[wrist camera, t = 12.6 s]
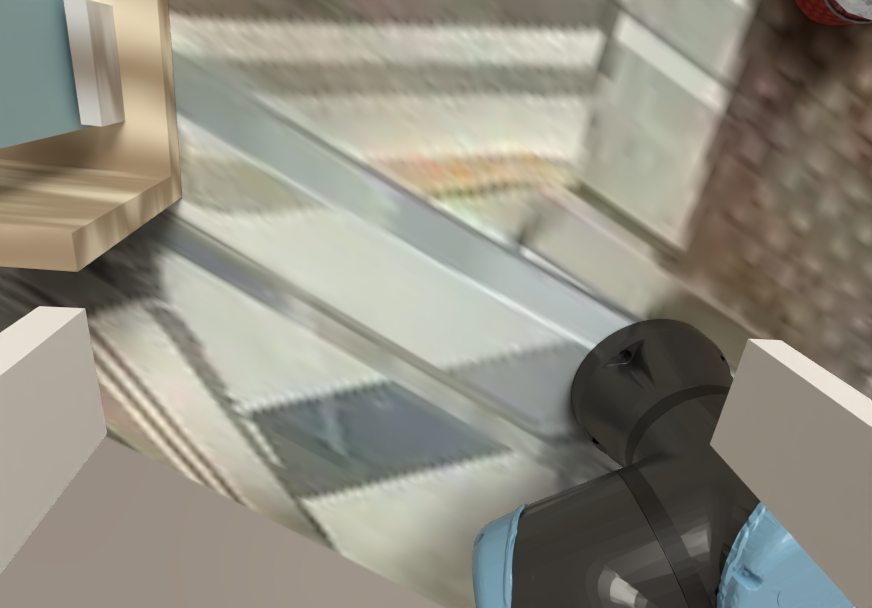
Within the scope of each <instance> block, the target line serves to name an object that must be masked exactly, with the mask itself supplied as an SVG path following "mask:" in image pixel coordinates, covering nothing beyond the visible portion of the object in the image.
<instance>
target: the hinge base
mask: <svg viewBox="0 0 872 608" xmlns="http://www.w3.org/2000/svg"><path fill="white" fill-rule="evenodd" d="M64 7H65V14H66V21H67V28H68V35H69V42H70V49H71V56H72V63H73V70H74V77H75V84H76V91H77V98H78V105H79V112H80V120H81V124H83V125H92V126H93V127H89V128H85V129H81V130H77V131H72V132H68V133H64V134H60V135H56V136H52V137H47V138H43V139H39V140H35V141H31V142H26V143H22V144H18V145H14V146H10V147H6V148H1V149H0V266H3V267H17V268H31V269H46V270H60V271H74V272H78V271H79V270H81V269H82V268H84V267H85V266H86V265H88V264H89V263H91V262H92V261H93V260H95V259H96V258H98V257H99V256H100V255H102V254H103V253H105V252H106V251H107V250H109V249H110V248H111V247H113V246H114V245H116V244H117V243H118V242H120V241H121V240H123V239H124V238H125V237H127V236H128V235H130V234H131V233H132V232H134V231H135V230H137V229H138V228H139V227H141V226H142V225H143V224H145V223H146V222H148V221H149V220H150V219H152V218H153V217H155V216H156V215H157V214H159V213H160V212H162V211H163V210H164V209H166V208H167V207H169V206H170V205H171V204H173V203H174V202H175V201H177V200H178V199H180V198H181V197H182V189H181V175H180V161H179V147H178V133H177V119H176V105H175V91H174V78H173V64H172V50H171V36H170V22H169V8H168V0H64Z"/></svg>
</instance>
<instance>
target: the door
mask: <svg viewBox="0 0 872 608" xmlns="http://www.w3.org/2000/svg"><path fill="white" fill-rule="evenodd" d="M89 127H93V126H92V125H83V124H81V120H80V112H79V105H78V98H77V91H76V84H75V77H74V70H73V63H72V56H71V49H70V42H69V35H68V28H67V21H66V14H65V7H64V0H0V149H1V148H6V147H10V146H14V145H18V144H22V143H26V142H31V141H35V140H39V139H43V138H47V137H52V136H56V135H60V134H64V133H68V132H72V131H77V130H81V129H85V128H89Z"/></svg>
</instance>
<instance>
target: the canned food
mask: <svg viewBox="0 0 872 608" xmlns="http://www.w3.org/2000/svg"><path fill="white" fill-rule="evenodd" d="M795 1H796V3H797V5H798V7H799V9H800V10H801V11H802V12H803V13H804V14H805V15H806V16H807V17H808V18H810V19H812V20H813V21H815V22H817V23H821V24H824V25H849V24H868V23H872V0H795Z"/></svg>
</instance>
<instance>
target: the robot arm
mask: <svg viewBox="0 0 872 608" xmlns="http://www.w3.org/2000/svg"><path fill="white" fill-rule="evenodd" d="M571 399H572V408H573V412H574V415H575V417H576V420H577V421H578V423H579V425H580V427H581V428H582V430H583V432H584V434H585V435H586V437H587V438H588V439H589V440H590V441H591V443H592V444H593V445H595V446H596V447H597V448H598V449H600V450H601V451H602V452H604V453H606V454H607V455H608V456H609V457H610V458H612V459H613V460H614V461H616V462H617V463H618V464H620V465H621V466H622V467H624V468H621V469H619V470H616V471H613V472H610V473H608V474H605V475H603V476H600V477H598V478H595V479H593V480H590V481H588V482H585V483H583V484H581V485H578V486H576V487H573V488H571V489H568V490H566V491H563V492H561V493H558V494H555V495H553V496H550V497H547V498H545V499H542V500H539V501H537V502H534V503H531V504H524V505H521V506H520V507H519V508H518V509H517V510H515V511H513V512H511V513H509V514H507V515H505V516H503V517H501V518H499V519H496V520H494V521H492V522H490V523H488V524H487V525H485V526H484V527H483V528H482V529H481V531H480V532H479V534H478V535H477V538H476V541H475V544H474V551H473V557H472V574H473V586H474V595H475V602H476V608H853V607H854V606H855V607H856V608H872V400H870V399H869V398H867V397H866V396H864V395H863V394H861V393H860V392H858V391H857V390H855V389H854V388H852V387H851V386H849V385H848V384H846V383H845V382H843V381H842V380H840V379H839V378H837V377H836V376H834V375H833V374H831V373H830V372H828V371H827V370H825V369H823V368H822V367H820V366H819V365H817V364H816V363H814V362H813V361H811V360H810V359H808V358H807V357H805V356H804V355H802V354H801V353H799V352H798V351H796V350H795V349H793V348H792V347H790V346H789V345H787V344H786V343H784V342H783V341H781V340H762V339H748V341H747V344H746V347H745V349H744V352H743V355H742V358H741V360H740V363H739V366H738V369H737V371H736V374H735V377H734V378H733V377H732V376H731V374H730V369H729V366H728V363H727V361H726V359H725V357H724V355H723V353H722V352H721V350H720V349H719V348H718V347H717V346H716V344H715V343H714V342H712V341H711V340H710V339H709V338H708V337H706V336H705V335H704V334H703V333H702V332H700V331H699V330H698V329H696V328H695V327H693V326H691V325H689V324H687V323H684V322H680V321H676V320H669V319H654V320H647V321H642V322H638V323H635V324H632V325H629V326H627V327H625V328H622V329H620V330H618V331H617V332H615V333H613V334H612V335H610V336H609V337H607V338H606V339H604V340H603V341H602V342H601V343H600V344H598V345H597V346H596V347H595V348H594V349H593V350H592V351H591V352H590V354H589V355H588V356H587V357H586V359H585V360H584V362H583V363H582V365H581V366H580V368H579V370H578V372H577V374H576V377H575V380H574V383H573V387H572V397H571ZM106 434H107V430H106V425H105V419H104V413H103V407H102V402H101V396H100V390H99V385H98V379H97V373H96V368H95V362H94V356H93V351H92V345H91V339H90V333H89V328H88V322H87V316H86V311H85V308H65V307H43V306H39V307H37V308H36V309H34V310H33V311H31V312H30V313H29V314H27V315H26V316H24V317H23V318H21V319H20V320H18V321H17V322H15V323H14V324H12V325H11V326H9V327H8V328H6V329H5V330H4V331H2V332H1V333H0V574H1V573H2V571H3V570H4V568H5V567H6V566H7V565H8V563H9V562H10V561H11V560H12V558H13V557H14V556H15V554H16V553H17V552H18V550H19V549H20V548H21V546H22V545H23V544H24V542H25V541H26V540H27V538H28V537H29V536H30V534H31V533H32V532H33V531H34V529H35V528H36V526H37V525H38V524H39V523H40V521H41V520H42V518H43V517H44V516H45V515H46V513H47V512H48V511H49V509H50V508H51V507H52V506H53V504H54V503H55V502H56V500H57V499H58V498H59V496H60V495H61V494H62V492H63V491H64V490H65V488H66V487H67V486H68V484H69V483H70V482H71V480H72V479H73V478H74V477H75V475H76V474H77V472H78V471H79V470H80V469H81V467H82V466H83V465H84V463H85V462H86V461H87V459H88V458H89V457H90V455H91V454H92V453H93V452H94V450H95V449H96V448H97V446H98V445H99V444H100V442H101V441H102V440H103V438H104V437H105V436H106Z"/></svg>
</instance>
